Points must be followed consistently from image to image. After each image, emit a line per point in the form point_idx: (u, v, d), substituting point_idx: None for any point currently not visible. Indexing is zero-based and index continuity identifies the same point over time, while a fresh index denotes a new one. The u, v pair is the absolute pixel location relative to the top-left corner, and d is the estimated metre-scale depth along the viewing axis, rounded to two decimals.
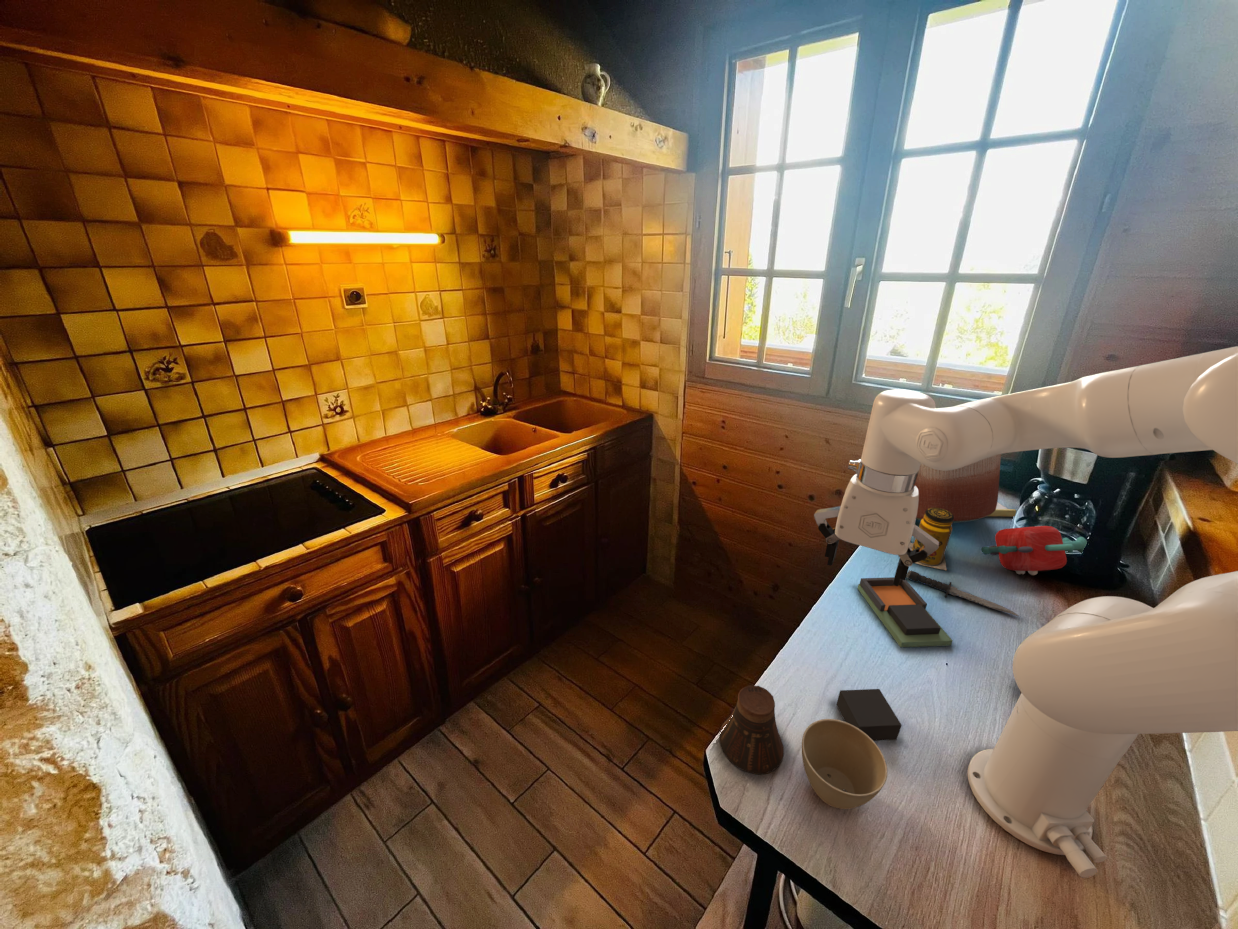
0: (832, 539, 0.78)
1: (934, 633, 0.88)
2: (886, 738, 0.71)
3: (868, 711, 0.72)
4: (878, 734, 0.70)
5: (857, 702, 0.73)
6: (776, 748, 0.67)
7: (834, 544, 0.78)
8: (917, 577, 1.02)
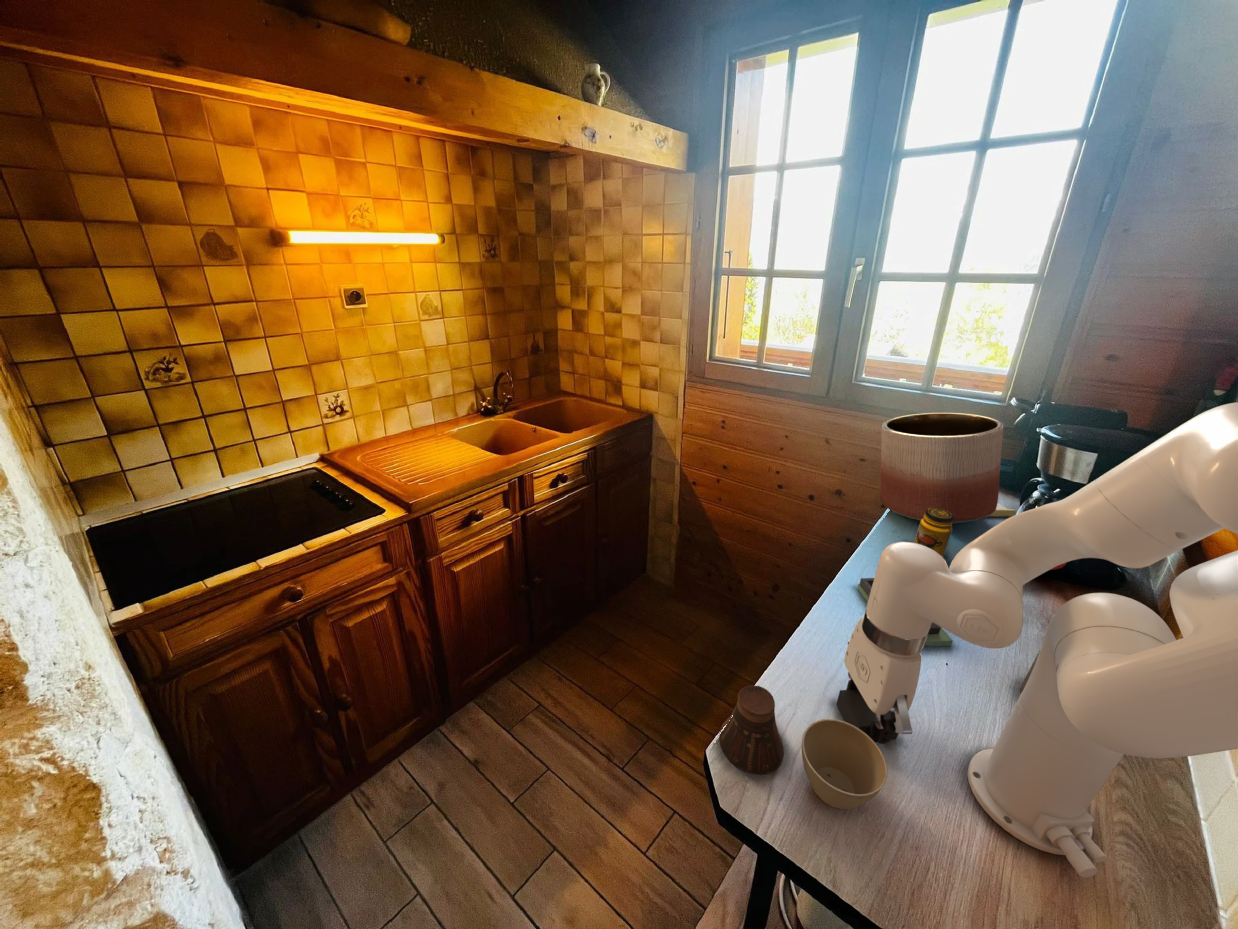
0: None
1: (934, 633, 0.88)
2: None
3: (868, 710, 0.72)
4: None
5: (857, 702, 0.73)
6: (776, 748, 0.67)
7: (853, 682, 0.75)
8: None
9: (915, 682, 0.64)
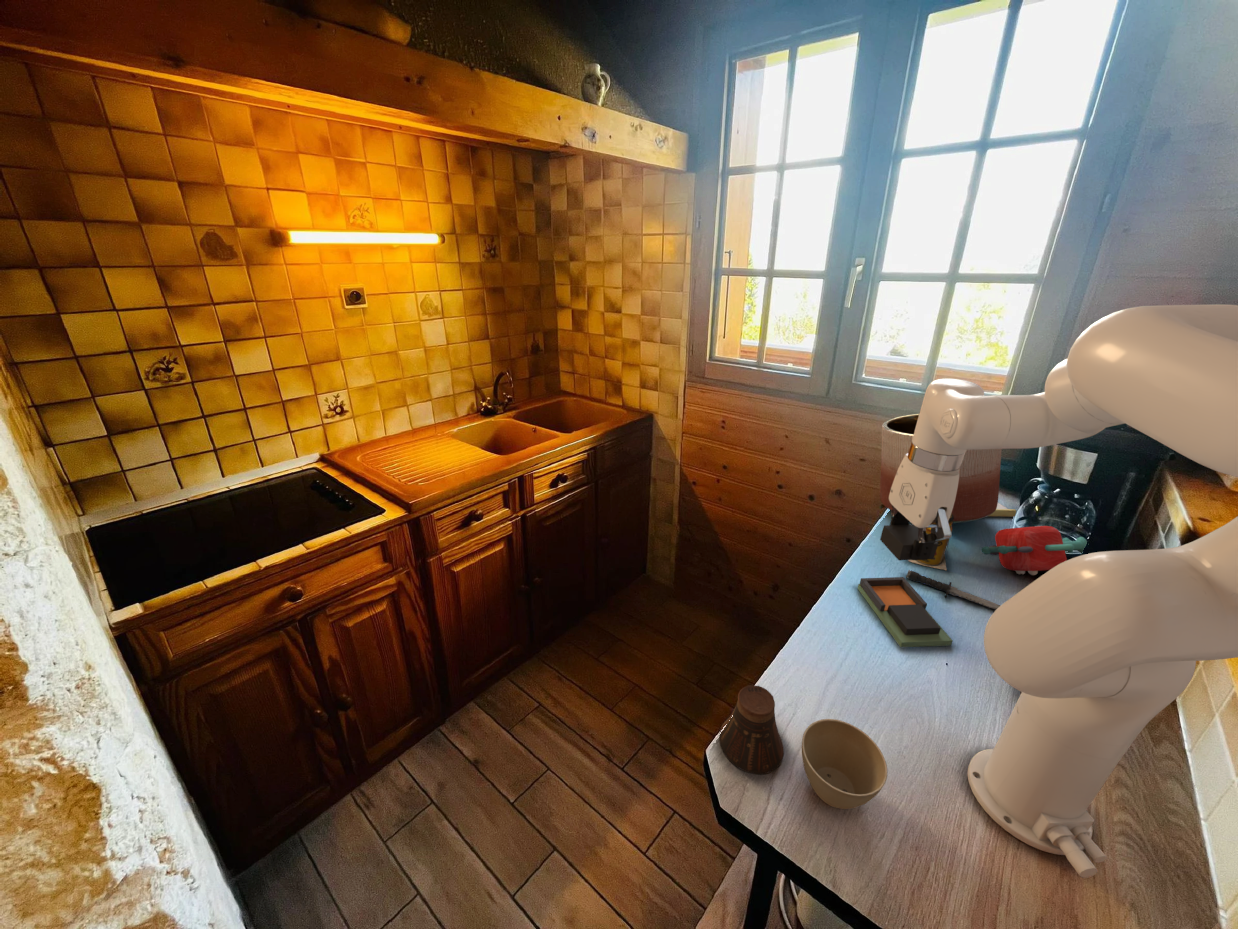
0: (894, 511, 0.88)
1: (934, 633, 0.88)
2: None
3: (909, 536, 0.85)
4: None
5: (899, 531, 0.87)
6: (776, 748, 0.67)
7: (896, 518, 0.88)
8: (917, 577, 1.02)
9: (953, 495, 0.77)
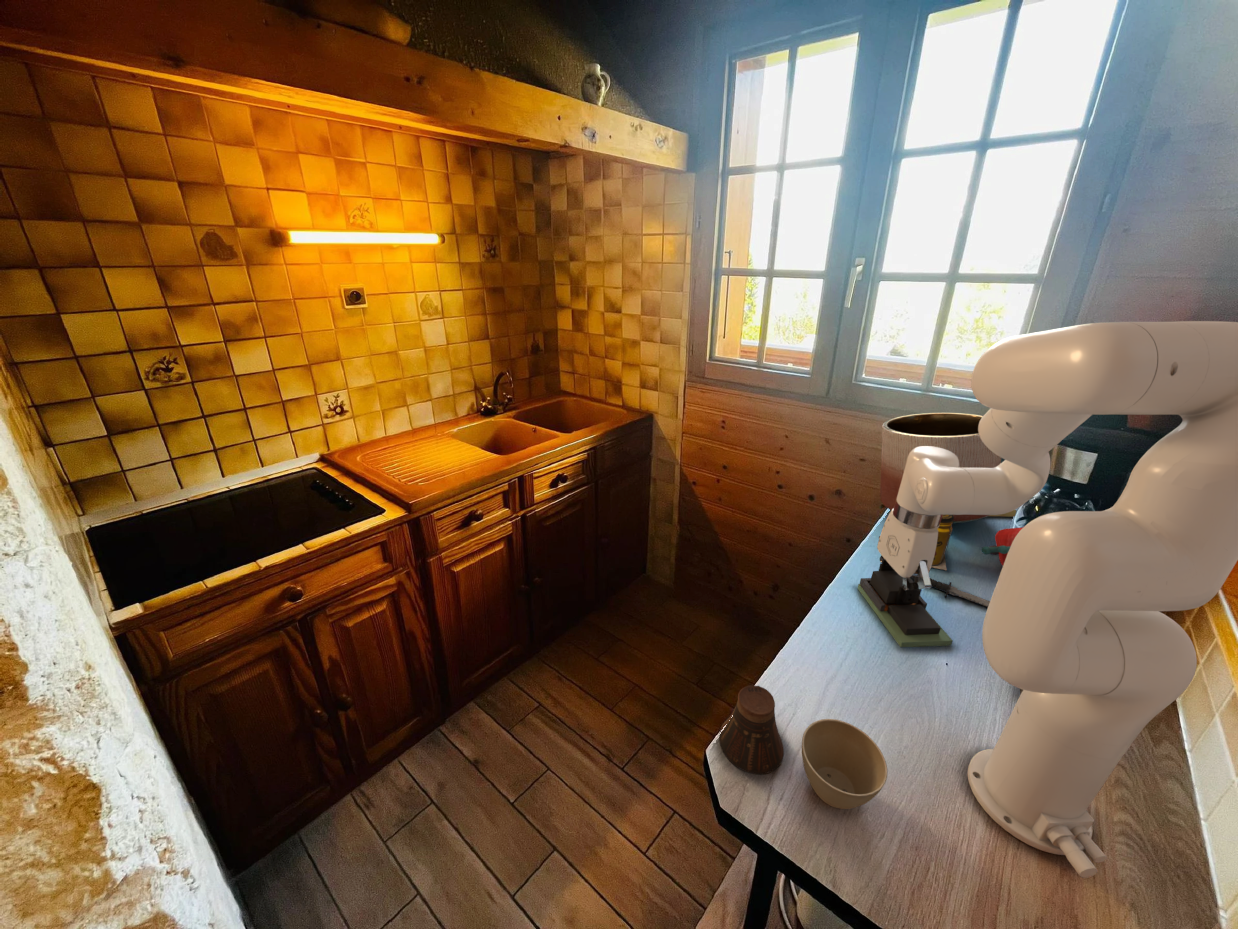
0: (882, 558, 0.97)
1: (934, 633, 0.88)
2: None
3: (895, 582, 0.94)
4: None
5: (887, 577, 0.96)
6: (776, 748, 0.67)
7: (884, 564, 0.97)
8: None
9: (933, 549, 0.86)
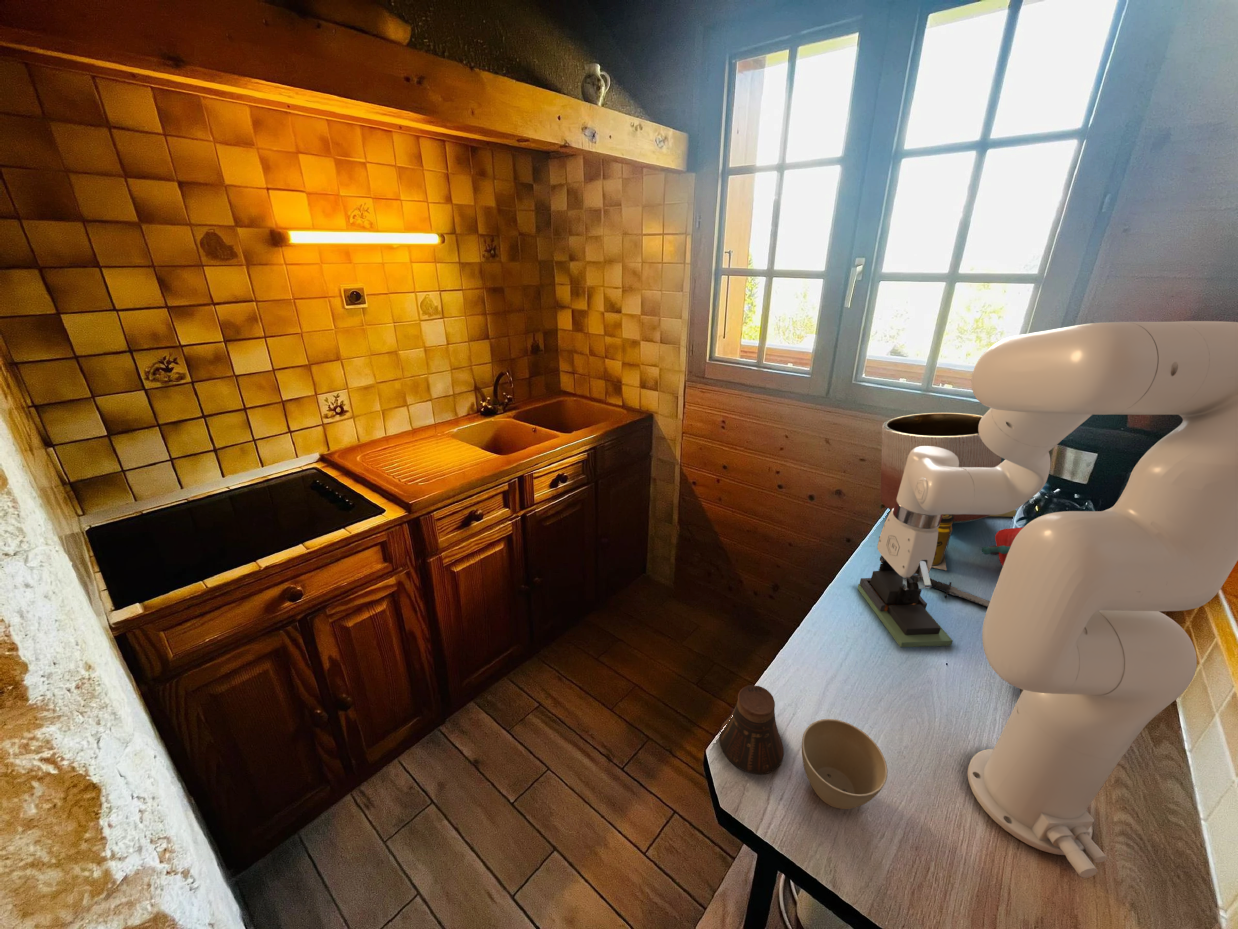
0: (882, 558, 0.97)
1: (934, 633, 0.88)
2: None
3: (895, 582, 0.94)
4: None
5: (887, 577, 0.96)
6: (776, 748, 0.67)
7: (884, 564, 0.97)
8: None
9: (933, 549, 0.86)
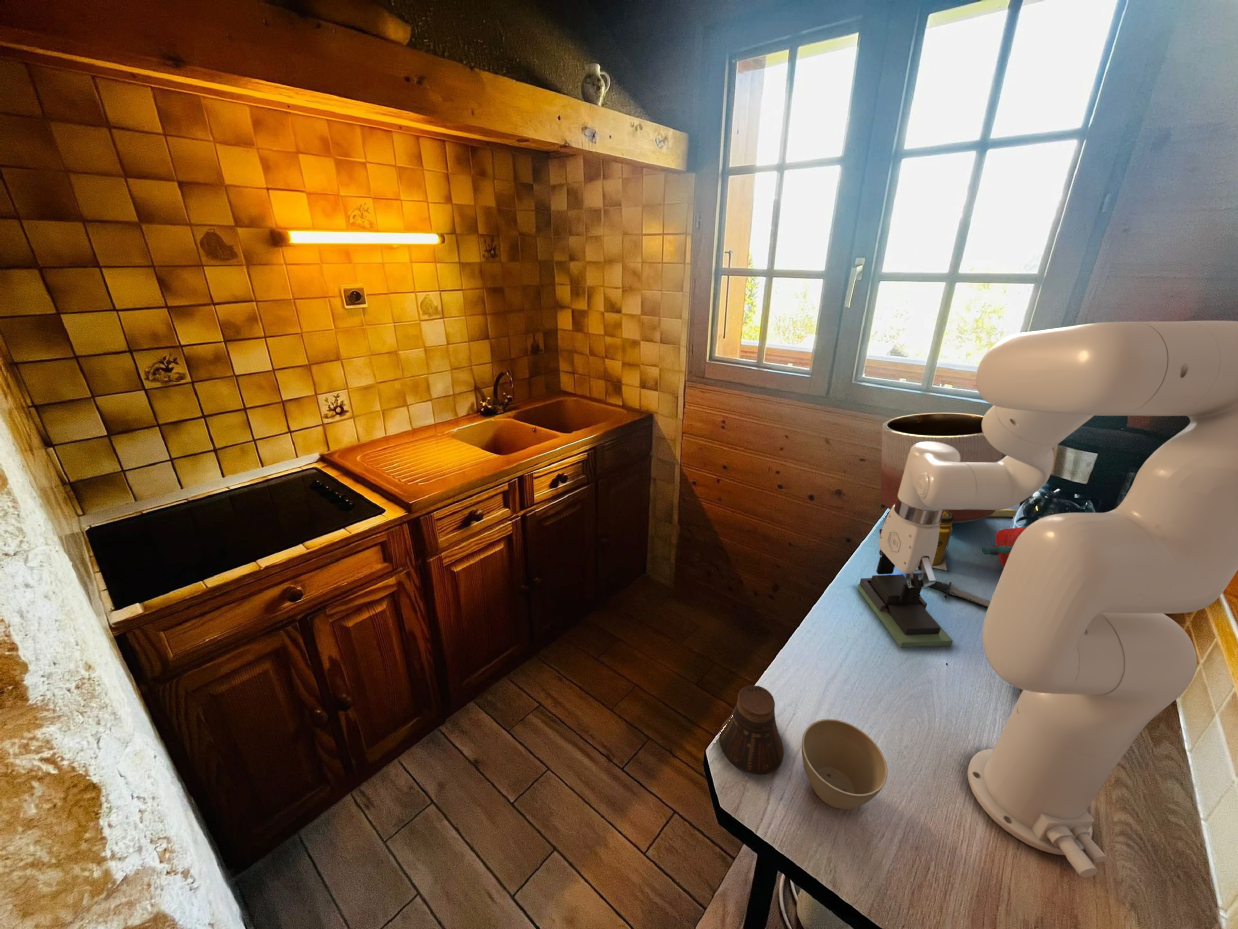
0: (882, 552, 0.97)
1: (934, 633, 0.88)
2: None
3: (894, 587, 0.95)
4: None
5: (886, 582, 0.96)
6: (776, 748, 0.67)
7: (883, 557, 0.98)
8: (917, 577, 1.02)
9: (935, 545, 0.86)
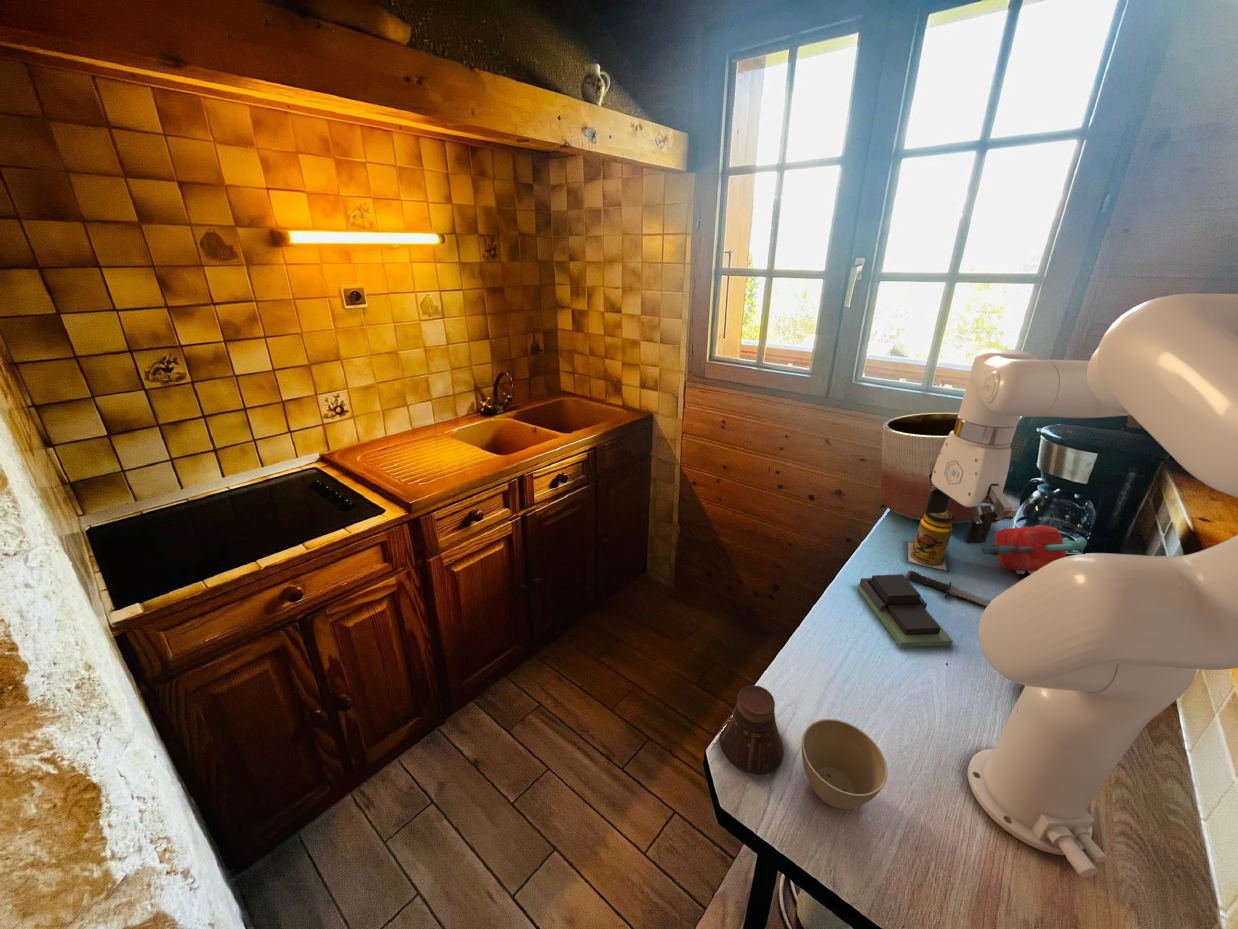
0: (933, 487, 0.85)
1: (934, 633, 0.88)
2: None
3: (894, 587, 0.95)
4: (903, 602, 0.93)
5: (886, 582, 0.96)
6: (776, 748, 0.67)
7: (935, 493, 0.85)
8: (917, 577, 1.02)
9: (1005, 470, 0.73)
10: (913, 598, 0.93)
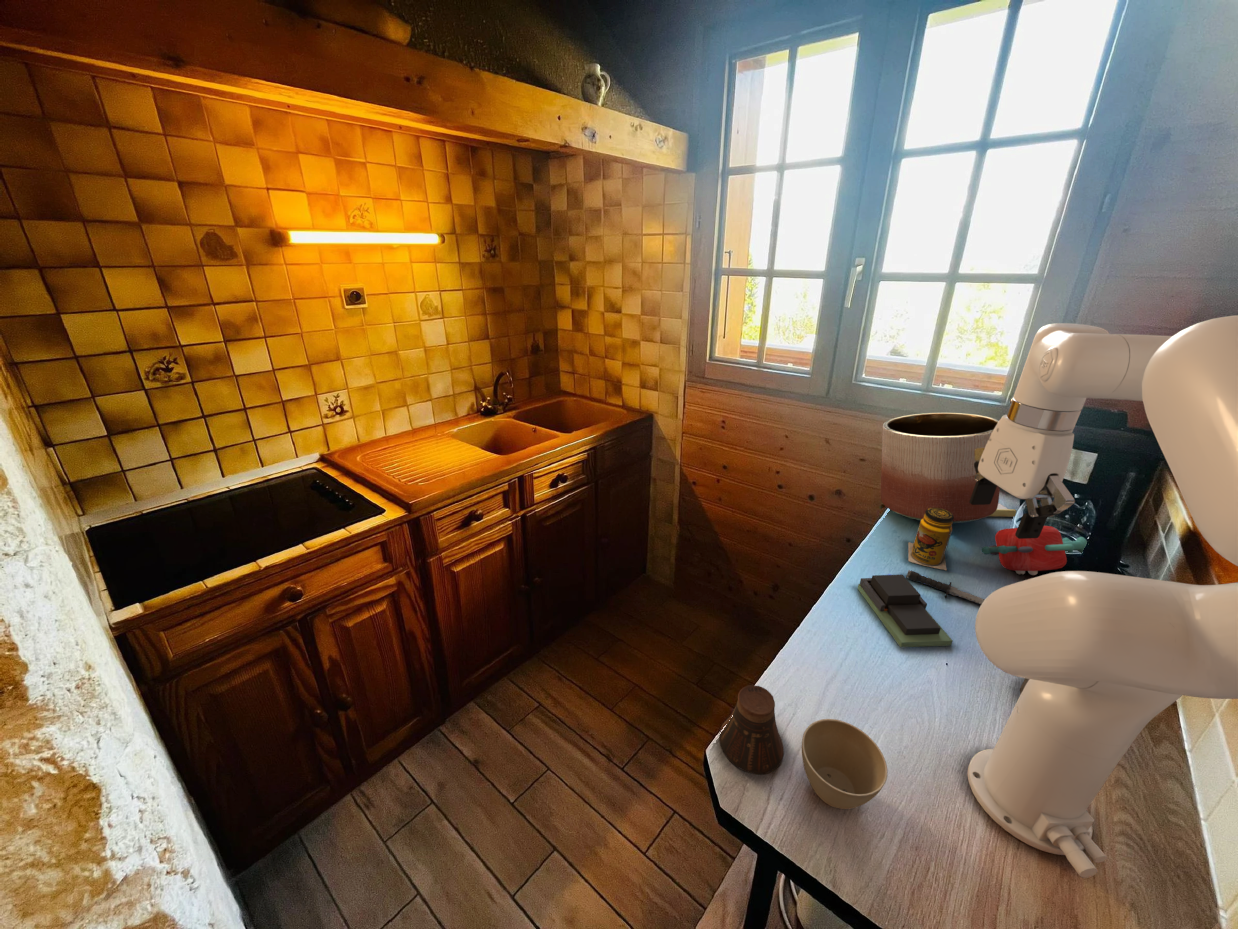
0: (979, 476, 0.78)
1: (934, 633, 0.88)
2: None
3: (894, 587, 0.95)
4: (903, 602, 0.93)
5: (886, 582, 0.96)
6: (776, 748, 0.67)
7: (981, 483, 0.78)
8: (917, 577, 1.02)
9: (1067, 459, 0.66)
10: (913, 598, 0.93)
